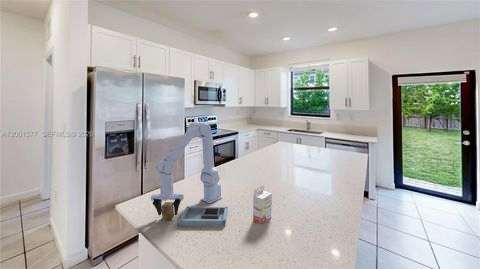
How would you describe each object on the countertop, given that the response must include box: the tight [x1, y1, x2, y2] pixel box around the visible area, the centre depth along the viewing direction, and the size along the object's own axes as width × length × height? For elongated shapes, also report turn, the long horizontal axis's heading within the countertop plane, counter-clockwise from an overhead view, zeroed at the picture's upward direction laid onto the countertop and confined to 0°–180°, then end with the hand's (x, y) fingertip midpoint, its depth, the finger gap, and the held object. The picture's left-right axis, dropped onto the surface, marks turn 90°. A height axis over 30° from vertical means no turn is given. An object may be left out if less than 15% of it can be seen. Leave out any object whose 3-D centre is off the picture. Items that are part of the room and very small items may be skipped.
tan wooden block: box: [161, 201, 175, 222], centre depth 97 cm, size 4×4×7 cm
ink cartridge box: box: [252, 184, 273, 225], centre depth 95 cm, size 9×5×15 cm, turn 141°
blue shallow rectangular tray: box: [178, 206, 229, 227], centre depth 97 cm, size 20×13×3 cm, turn 89°
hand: (168, 214), depth 97 cm, fingers open, 7 cm apart
